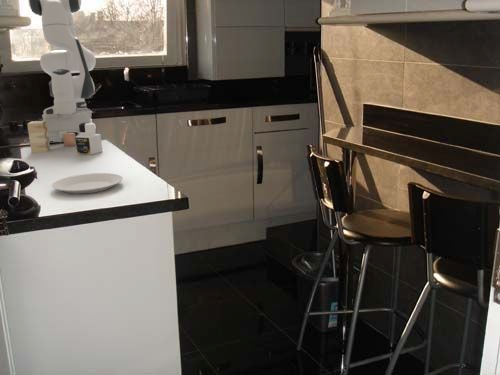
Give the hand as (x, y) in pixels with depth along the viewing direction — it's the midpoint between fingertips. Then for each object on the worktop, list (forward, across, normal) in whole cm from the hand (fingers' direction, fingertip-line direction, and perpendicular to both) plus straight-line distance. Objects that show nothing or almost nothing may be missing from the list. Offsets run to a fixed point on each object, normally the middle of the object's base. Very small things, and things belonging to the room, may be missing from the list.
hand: (69, 141), depth 252 cm
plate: (+2, -22, +77) cm, 80 cm away
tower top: (-6, +10, +9) cm, 15 cm away
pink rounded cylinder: (+2, 0, 0) cm, 2 cm away
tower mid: (-2, +10, +9) cm, 14 cm away
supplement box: (+2, +9, -14) cm, 17 cm away
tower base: (+2, +10, +9) cm, 14 cm away
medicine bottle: (+2, -12, +20) cm, 23 cm away
